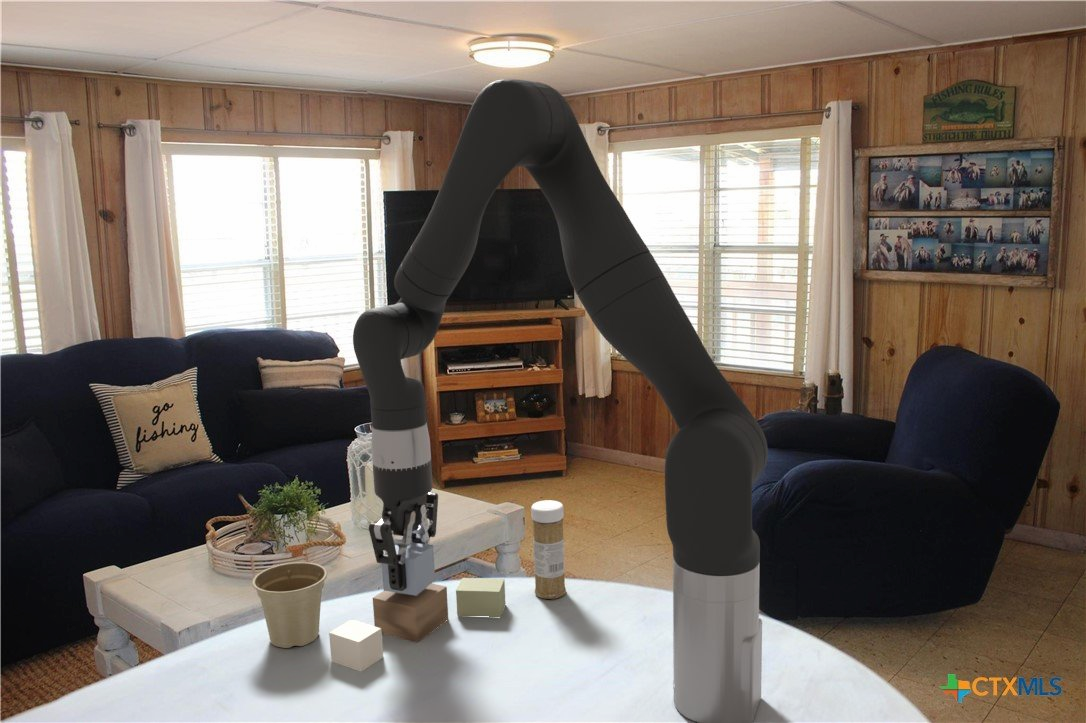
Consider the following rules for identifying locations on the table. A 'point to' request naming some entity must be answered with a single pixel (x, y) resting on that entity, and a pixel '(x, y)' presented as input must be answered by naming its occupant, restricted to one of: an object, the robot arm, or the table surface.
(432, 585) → the walnut block
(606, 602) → the table surface
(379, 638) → the cream block
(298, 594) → the flower pot
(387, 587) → the slate block
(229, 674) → the table surface
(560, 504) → the sprinkles bottle
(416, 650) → the table surface
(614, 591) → the table surface
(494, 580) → the olive block
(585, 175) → the robot arm
